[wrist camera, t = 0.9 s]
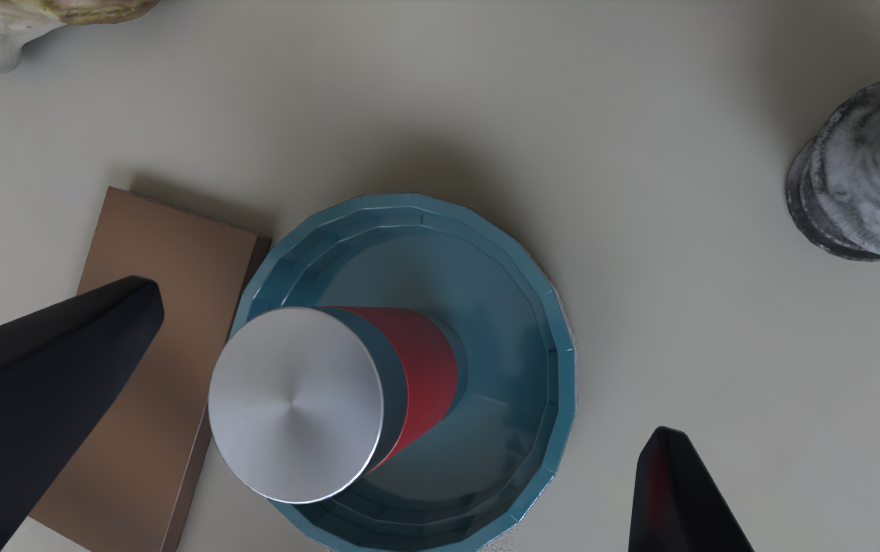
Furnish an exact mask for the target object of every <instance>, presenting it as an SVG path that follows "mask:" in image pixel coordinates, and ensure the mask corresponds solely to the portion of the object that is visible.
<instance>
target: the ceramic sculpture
mask: <svg viewBox="0 0 880 552" xmlns="http://www.w3.org/2000/svg"><path fill="white" fill-rule="evenodd" d="M159 1H160V0H0V74H4V73H8V72H10V71H12V70H14V69H15V68H16V67H18V66H19V64H20V63H21V61H22V50H21V49H22V46H23V45H24V44H26V43H27V42H29V41H31V40H34V39H36V38H38V37H41V36H42V35H44V34H46V33H48V32H50V31H51V30H53V29H56V28H59V27H62V26H65V25H67V24H70V25H89V24H103V23H111V24H115V23H120V22H125V21H129V20H133V19H135V18H138V17H141V16H143V15H144V14H146V13H147V12H148V11H149V9H151V8H152V7H153V6H155V5H156V4H157V3H158V2H159Z"/></svg>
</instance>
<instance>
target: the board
mask: <svg viewBox="0 0 880 552" xmlns="http://www.w3.org/2000/svg"><path fill="white" fill-rule="evenodd" d="M270 242H271V238H269V237H266V236H263V235H260V234H257V233H254V232H251V231H248V230H245V229H242V228H239V227H236V226H233V225H230V224H227V223H224V222H221V221H218V220H215V219H212V218H209V217H205V216H202V215H199V214H196V213H193V212H190V211H187V210H184V209H181V208H178V207H175V206H172V205H169V204H166V203H163V202H160V201H157V200H154V199H151V198H148V197H145V196H142V195H139V194H136V193H132V192H129V191H126V190H122V189H119V188H115V187H111V186H110V187H108V190H107V194H106V197H105V200H104V204H103V207H102V210H101V214H100V217H99V220H98V224H97V227H96V230H95V234H94V237H93V240H92V244H91V247H90V250H89V254H88V257H87V260H86V264H85V267H84V270H83V274H82V277H81V280H80V284H79V287H78V290H77V294H76V296H78V295H80V294H83V293H85V292H88V291H91V290H93V289H96V288H98V287H101V286H103V285H106V284H109V283H111V282H114V281H116V280H119V279H122V278H124V277H127V276H130V275H139V276H143V277H146V278H150V279H153V280H155V281H156V282H157V284H158V286H159V289H160V294H161V298H162V302H163V306H164V310H165V318H164V322H163V324H162V326H161V328H160V330H159V331H158V333H157V335H156V336H155V338H154V339H153V341H152V343H151V344H150V346H149V348H148V349H147V351H146V353H145V354H144V356H143V358H142V359H141V361H140V363H139V364H138V366H137V367H136V369H135V371H134V372H133V374H132V376H131V377H130V379H129V381H128V382H127V384H126V385H125V387H124V388H123V390H122V392H121V393H120V395H119V396H118V397H117V399H116V400H115V401H114V403H113V404H112V406H111V407H110V408H109V410H108V411H107V412H106V413H105V415H104V416H103V417H102V419H101V420H100V421H99V423H98V424H97V425H96V427H95V428H94V429H93V431H92V432H91V433H90V434H89V436H88V437H87V438H86V440H85V441H84V442H83V444H82V445H81V446H80V448H79V449H78V450H77V452H76V453H75V454H74V455H73V457H72V458H71V459H70V461H69V462H68V463H67V465H66V466H65V467H64V469H63V470H62V471H61V473H60V474H59V475H58V476H57V478H56V479H55V480H54V482H53V483H52V484H51V486H50V487H49V488H48V490H47V491H46V492H45V494H44V495H43V496H42V497H41V499H40V500H39V501H38V503H37V504H36V505H35V507H34V508H33V509H32V511H31V512H30V513H29V515H28V516H29V517H31V518H32V519H34V520H36V521H38V522H40V523H41V524H43V525H45V526H47V527H49V528H50V529H52V530H54V531H56V532H57V533H59V534H61V535H63V536H65V537H66V538H68V539H70V540H72V541H74V542H75V543H77V544H79V545H81V546H82V547H84V548H86V549H88V550H90V551H91V552H175V551H176V548H177V545H178V542H179V538H180V535H181V532H182V529H183V525H184V522H185V519H186V516H187V512H188V509H189V506H190V503H191V499H192V496H193V493H194V490H195V486H196V483H197V480H198V477H199V473H200V470H201V467H202V464H203V460H204V457H205V454H206V451H207V447H208V444H209V441H210V437H211V434H212V431H211V426H210V421H209V412H208V394H209V386H210V380H211V376H212V372H213V369H214V367H215V364H216V361H217V359H218V357H219V355H220V353H221V351H222V349H223V348H224V346H225V345H226V343H227V342H228V339H229V336H230V332H231V329H232V326H233V323H234V319H235V316H236V313H237V310H238V306H239V303H240V300H241V297H242V294H243V291H244V290H245V288H246V287H247V285H248V284H249V282H250V281H251V279H252V278H253V276H254V275H255V273H256V272H257V270H258V268H259V267H260V265H261V264H262V262H263V261H264V259H265V258H266V255H267V252H268V249H269V245H270Z"/></svg>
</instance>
